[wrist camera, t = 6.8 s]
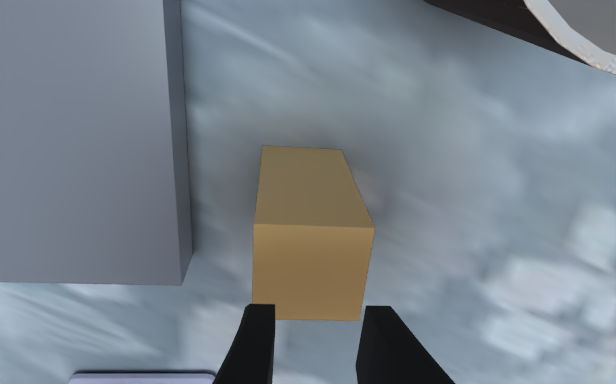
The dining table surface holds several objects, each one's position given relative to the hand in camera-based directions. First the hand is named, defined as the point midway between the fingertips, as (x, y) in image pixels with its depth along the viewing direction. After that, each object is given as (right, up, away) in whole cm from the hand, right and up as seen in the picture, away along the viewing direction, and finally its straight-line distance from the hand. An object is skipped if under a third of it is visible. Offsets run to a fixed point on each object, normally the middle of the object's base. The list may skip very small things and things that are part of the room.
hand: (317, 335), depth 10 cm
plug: (-1, +4, +9) cm, 9 cm away
